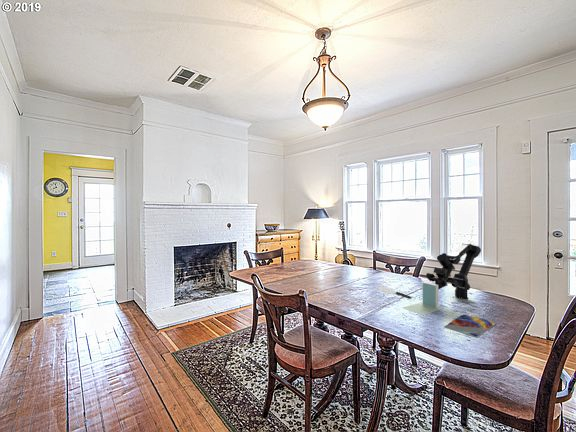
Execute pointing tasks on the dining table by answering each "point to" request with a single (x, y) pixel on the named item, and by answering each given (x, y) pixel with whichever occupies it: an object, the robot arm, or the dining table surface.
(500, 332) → the dining table surface
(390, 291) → the kitchen cleaver
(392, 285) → the dining table surface
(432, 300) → the standing glazed tile
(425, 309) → the sage rubber mat
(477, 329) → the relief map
